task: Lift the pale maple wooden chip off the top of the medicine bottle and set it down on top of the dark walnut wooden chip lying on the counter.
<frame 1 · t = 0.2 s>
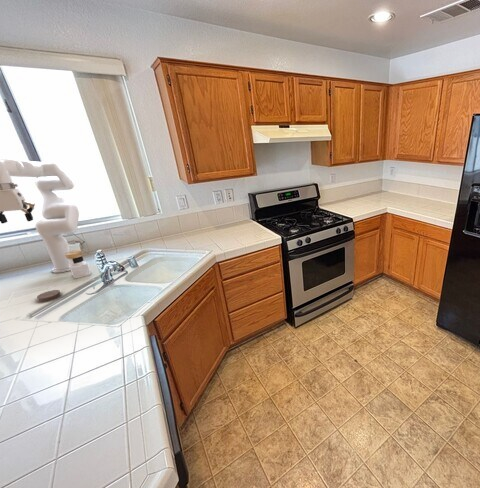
hand: (17, 221, 130), 36 cm above the countertop, tool pointing down, fingers open, 9 cm apart
walnut chip: (50, 297, 132), on the countertop
maple chip: (74, 256, 151), point 12 cm above the countertop, touching medicine bottle
medicine bottle: (81, 275, 155), on the countertop, touching maple chip
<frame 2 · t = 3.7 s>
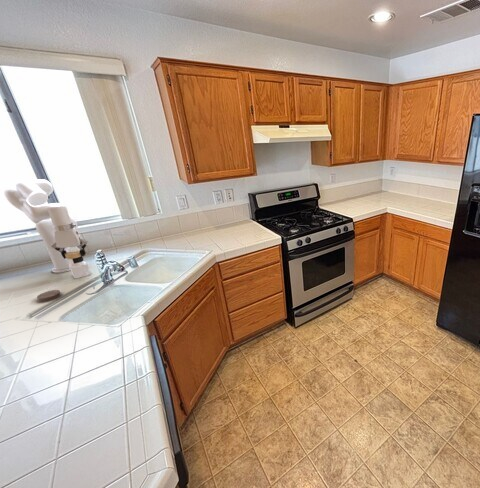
hand: (74, 256, 151), 12 cm above the countertop, tool pointing down, fingers closed on maple chip, 7 cm apart
maple chip: (74, 256, 151), point 12 cm above the countertop, touching gripper, medicine bottle
everything else where it was.
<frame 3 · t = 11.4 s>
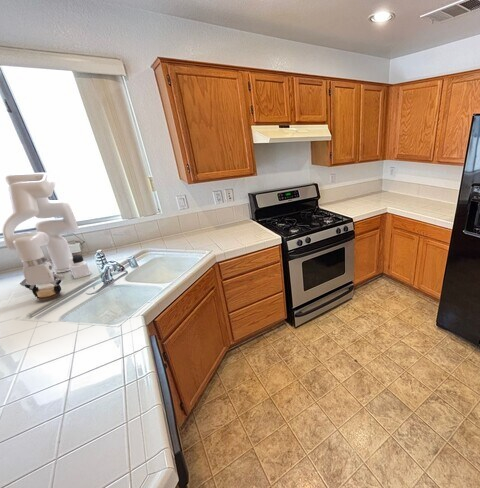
hand: (48, 293, 131), 2 cm above the countertop, tool pointing down, fingers closed on maple chip, 7 cm apart
maple chip: (48, 293, 131), point 2 cm above the countertop, touching gripper
medicine bottle: (81, 275, 155), on the countertop
everything else where it was.
when the fingers open (3 cm above the countertop, at t = 22.2 s): maple chip drops 1 cm, resting on walnut chip.
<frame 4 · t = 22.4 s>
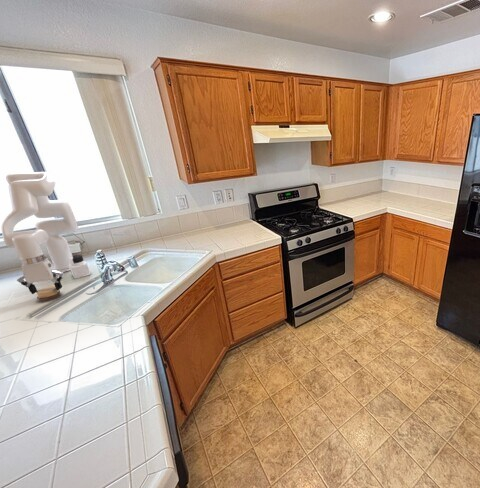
hand: (47, 290, 131), 4 cm above the countertop, tool pointing down, fingers open, 9 cm apart
walnut chip: (50, 297, 132), on the countertop, touching maple chip
maple chip: (48, 294, 131), point 2 cm above the countertop, touching walnut chip
everything else where it was.
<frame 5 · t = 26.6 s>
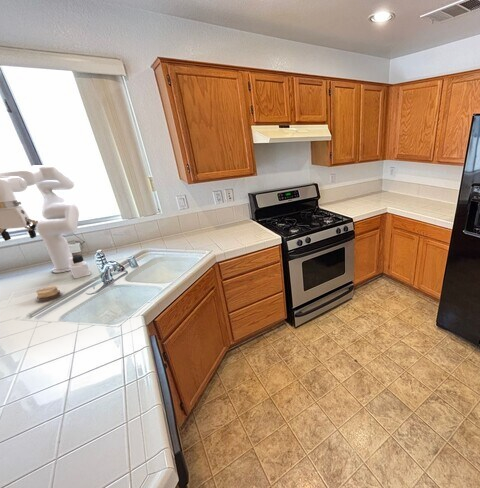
hand: (21, 238, 131), 28 cm above the countertop, tool pointing down, fingers open, 9 cm apart
nothing on the countertop moved.
at the end: maple chip 0.1 cm off-centre on the walnut chip, point 2.0 cm above the walnut chip's base; maple chip tilted 0°; medicine bottle moved 0.2 cm from its start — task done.
